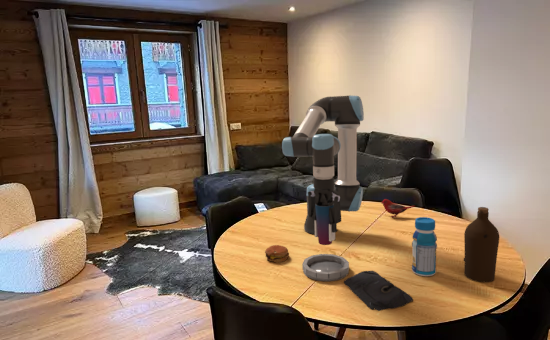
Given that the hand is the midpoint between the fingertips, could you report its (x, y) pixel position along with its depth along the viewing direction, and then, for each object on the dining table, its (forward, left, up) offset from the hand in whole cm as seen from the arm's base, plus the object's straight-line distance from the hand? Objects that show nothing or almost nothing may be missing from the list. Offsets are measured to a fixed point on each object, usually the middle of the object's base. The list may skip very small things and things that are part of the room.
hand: (324, 237), depth 140 cm
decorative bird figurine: (-9, +74, -13) cm, 76 cm away
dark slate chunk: (+22, -1, -14) cm, 26 cm away
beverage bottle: (+28, +22, -13) cm, 38 cm away
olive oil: (+44, +31, -13) cm, 55 cm away
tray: (0, 0, -13) cm, 13 cm away
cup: (0, 0, -2) cm, 2 cm away
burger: (-23, -3, -14) cm, 27 cm away
